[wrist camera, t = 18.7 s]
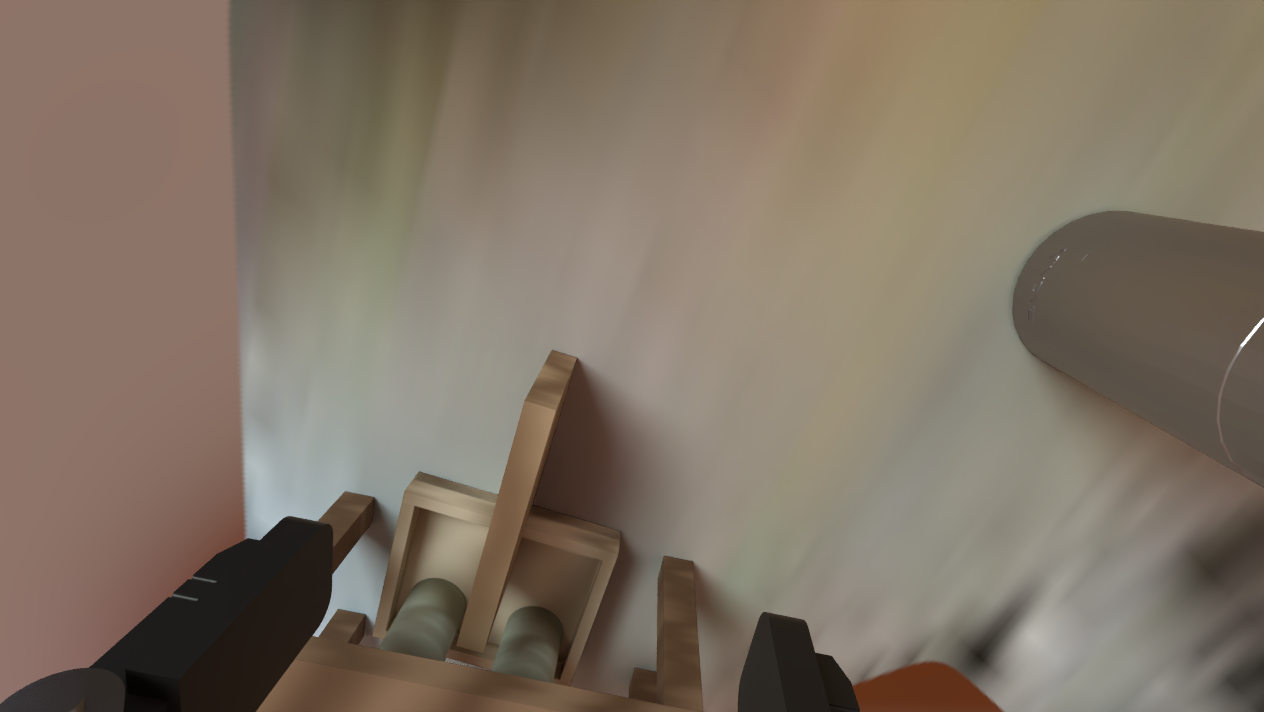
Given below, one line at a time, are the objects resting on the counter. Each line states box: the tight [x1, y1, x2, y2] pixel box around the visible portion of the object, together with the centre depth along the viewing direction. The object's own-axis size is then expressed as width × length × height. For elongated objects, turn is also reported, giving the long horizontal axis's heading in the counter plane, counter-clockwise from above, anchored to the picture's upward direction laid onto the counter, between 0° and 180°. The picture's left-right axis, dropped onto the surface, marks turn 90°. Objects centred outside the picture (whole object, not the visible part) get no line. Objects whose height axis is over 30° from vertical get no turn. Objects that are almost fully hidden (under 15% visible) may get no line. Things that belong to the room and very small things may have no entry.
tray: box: [372, 350, 621, 687], centre depth 38 cm, size 14×23×8 cm, turn 162°
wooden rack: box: [256, 492, 703, 712], centre depth 38 cm, size 24×12×14 cm, turn 78°
